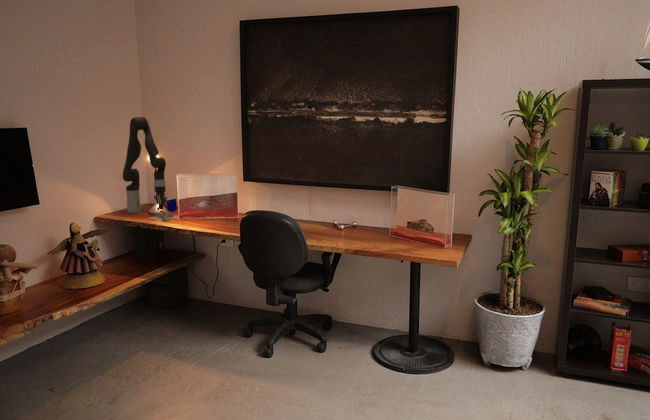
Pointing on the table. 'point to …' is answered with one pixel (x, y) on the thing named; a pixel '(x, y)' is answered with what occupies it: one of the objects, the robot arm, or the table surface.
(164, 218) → the block
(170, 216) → the tile
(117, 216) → the table surface
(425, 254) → the table surface
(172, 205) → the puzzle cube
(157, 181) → the robot arm
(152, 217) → the mat
